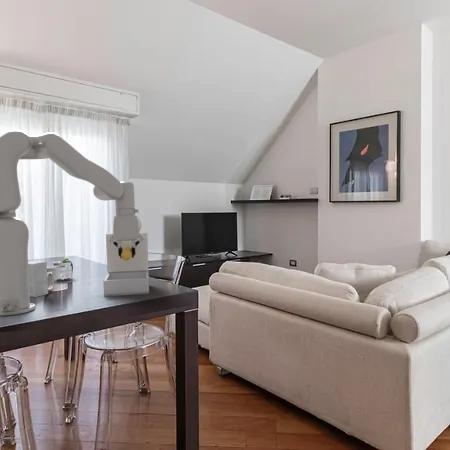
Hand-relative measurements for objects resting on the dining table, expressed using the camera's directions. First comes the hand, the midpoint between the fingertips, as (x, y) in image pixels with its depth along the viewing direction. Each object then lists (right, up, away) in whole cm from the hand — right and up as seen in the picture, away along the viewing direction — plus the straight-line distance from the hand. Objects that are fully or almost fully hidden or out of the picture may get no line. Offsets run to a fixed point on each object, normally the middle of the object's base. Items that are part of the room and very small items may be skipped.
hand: (127, 257), depth 159 cm
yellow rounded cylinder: (0, -1, 0) cm, 1 cm away
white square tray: (0, -14, +1) cm, 14 cm away
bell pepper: (-37, -13, +27) cm, 47 cm away
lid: (-2, +1, +7) cm, 7 cm away
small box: (-36, -15, -4) cm, 39 cm away
